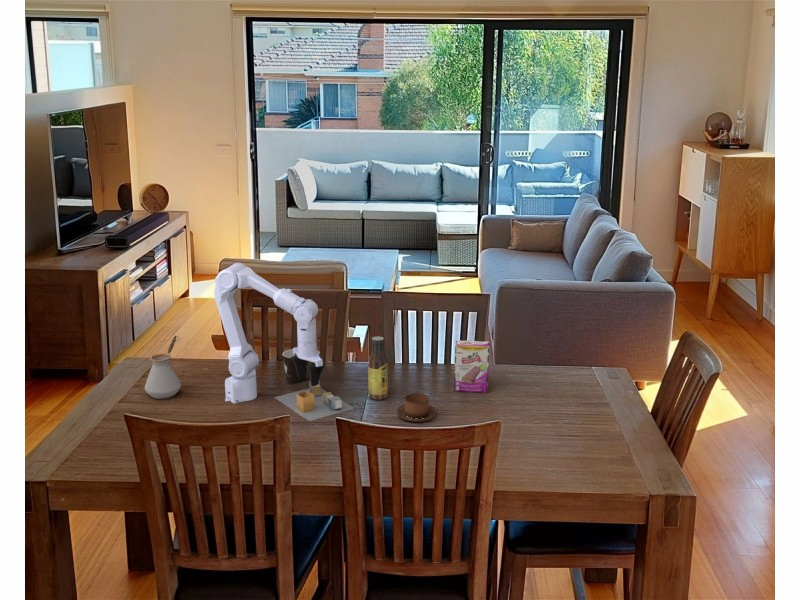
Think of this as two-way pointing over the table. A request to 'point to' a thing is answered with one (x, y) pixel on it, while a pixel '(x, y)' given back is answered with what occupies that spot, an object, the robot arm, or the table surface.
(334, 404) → the shaft rig
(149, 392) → the coffee pot
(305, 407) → the brown square block
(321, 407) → the base board
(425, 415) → the cup and saucer
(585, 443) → the table surface
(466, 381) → the candy bar box
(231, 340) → the robot arm
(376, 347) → the sauce bottle
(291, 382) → the coffee mug
